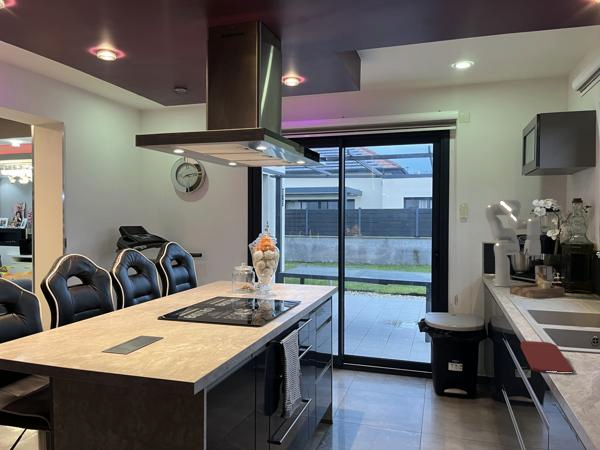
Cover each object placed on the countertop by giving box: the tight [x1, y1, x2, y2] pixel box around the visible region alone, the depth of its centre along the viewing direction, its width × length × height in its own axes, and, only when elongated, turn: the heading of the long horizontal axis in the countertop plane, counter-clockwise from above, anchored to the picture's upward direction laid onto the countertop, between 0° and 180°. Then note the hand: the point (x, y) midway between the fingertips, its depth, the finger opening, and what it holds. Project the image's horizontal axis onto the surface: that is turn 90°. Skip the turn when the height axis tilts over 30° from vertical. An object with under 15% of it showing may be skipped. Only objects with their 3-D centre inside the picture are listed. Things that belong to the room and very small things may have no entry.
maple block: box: [538, 281, 551, 288], centre depth 297 cm, size 5×5×4 cm
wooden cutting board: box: [509, 283, 566, 299], centre depth 291 cm, size 18×26×5 cm
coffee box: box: [534, 264, 554, 286], centre depth 310 cm, size 9×6×16 cm
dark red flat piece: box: [520, 340, 574, 374], centre depth 162 cm, size 12×5×25 cm
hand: (532, 266), depth 296 cm, fingers closed
